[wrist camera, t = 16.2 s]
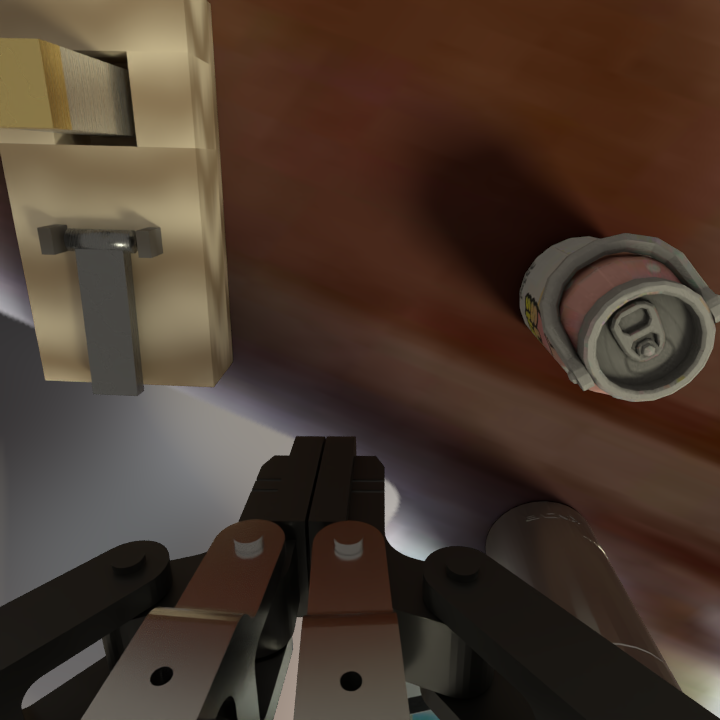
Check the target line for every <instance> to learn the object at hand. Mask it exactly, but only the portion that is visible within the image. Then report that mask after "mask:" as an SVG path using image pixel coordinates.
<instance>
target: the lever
mask: <svg viewBox="0 0 720 720" xmlns="http://www.w3.org/2000/svg"><path fill="white" fill-rule="evenodd" d="M64 244H65V246H66V248H67V249H68V250H69V251H75V254H76V262H77V270H78V278H79V286H80V294H81V301H82V309H83V317H84V325H85V333H86V341H87V349H88V357H89V365H90V372H91V380H92V388H93V394H104V395H128V396H138V395H139V394H141V393H142V392H143V391H144V386H143V374H142V364H141V354H140V343H139V333H138V323H137V312H136V302H135V292H134V281H133V271H132V261H131V253H136V252H137V251H138V248H137V240H136V232H135V231H134V230H108V229H76V228H68V229H66V231H65V233H64Z"/></svg>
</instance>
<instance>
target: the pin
mask: <svg viewBox="0 0 720 720" xmlns="http://www.w3.org/2000/svg"><path fill="white" fill-rule="evenodd" d="M0 128H5V129H17V130H28V131H40V132H52V133H64V134H75V135H87V136H99V137H133V138H136V131H135V122H134V113H133V104H132V96H131V87H130V78H129V70H126V69H123V68H120V67H117V66H115V65H112V64H109V63H106V62H103V61H100V60H98V59H95V58H92V57H89V56H86V55H83V54H81V53H78V52H75V51H72V50H69V49H66V48H64V47H61V46H58V45H55V44H52V43H49V42H47V41H44V40H41V39H30V38H0Z"/></svg>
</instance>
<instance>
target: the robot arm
mask: <svg viewBox="0 0 720 720" xmlns="http://www.w3.org/2000/svg"><path fill="white" fill-rule="evenodd" d="M384 500H385V499H384V466H383V465H382V463H381V462H380V461H379V459H378V458H377V457H376V456H356V437H335V436H327V438H325V437H319V436H296V438H295V441H294V444H293V447H292V450H291V453H290V455H289V456H273V457H272V458H271V459H270V460H269V461H267V462H266V463H265V464H264V465H263V466H262V467H261V469H260V472H259V474H258V477H257V481H255V484H254V486H253V488H252V492H251V493H250V496H249V498H248V500H247V503H246V505H245V508H244V510H243V512H242V515H241V517H240V519H239V522H238V523H235V524H233V525H230V526H228V527H227V528H225V529H224V530H222V531H221V532H220V533H219V534H218V535H217V536H216V538H215V539H214V541H213V543H212V545H211V546H210V548H209V550H208V551H207V552H205V553H202V554H199V555H195V556H190V557H185V558H181V559H176V560H171V561H170V559H169V552H168V550H167V548H165V546H163V545H162V544H160V543H157V542H154V541H145V540H144V541H134V542H129V543H126V544H122V545H119V546H117V547H115V548H113V549H111V550H109V551H107V552H105V553H103V554H101V555H99V556H97V557H95V558H93V559H91V560H90V561H88V562H86V563H84V564H82V565H80V566H78V567H76V568H74V569H72V570H71V571H68V572H66V573H65V574H63V575H61V576H59V577H57V578H55V579H53V580H51V581H49V582H47V583H45V584H43V585H41V586H40V587H38V588H36V589H34V590H32V591H30V592H28V593H26V594H24V595H23V596H20V597H18V598H17V599H14V600H13V601H11V602H9V603H7V604H5V605H3V606H1V607H0V720H273V719H274V715H275V712H276V708H277V705H278V701H279V697H280V694H281V690H282V686H283V683H284V680H285V676H286V673H287V669H288V665H289V662H290V658H291V655H292V650H293V642H292V635H293V632H294V628H295V623H296V618H297V617H303V621H302V630H301V641H300V653H299V664H298V675H297V687H296V699H295V709H294V720H410V712H409V705H408V697H407V689H406V682H408V683H411V684H414V685H417V686H419V687H420V692H421V695H422V698H423V700H424V701H425V703H426V704H427V706H428V707H429V708H430V709H431V711H432V712H433V713H434V714H435V715H436V716H437V717H438V718H439V719H440V720H720V718H718V717H717V716H715V715H714V714H712V713H711V712H710V711H708V710H707V709H705V708H704V707H703V706H701V705H700V704H698V703H697V702H695V701H694V700H693V699H691V698H690V697H688V696H687V695H685V694H684V693H683V692H682V690H681V688H680V687H679V685H678V683H677V681H676V680H675V678H674V676H673V674H672V672H671V671H670V669H669V667H668V666H667V664H666V662H665V660H664V659H663V657H662V655H661V653H660V651H659V650H658V648H657V646H656V644H655V642H654V641H653V639H652V637H651V635H650V634H649V632H648V630H647V628H646V626H645V625H644V623H643V621H642V619H641V617H640V616H639V614H638V612H637V610H636V609H635V607H634V605H633V603H632V601H631V600H630V598H629V596H628V594H627V592H626V591H625V589H624V587H623V585H622V583H621V582H620V580H619V578H618V576H617V575H616V573H615V571H614V569H613V567H612V566H611V564H610V562H609V560H608V558H607V556H606V555H605V553H604V551H603V549H602V547H601V546H600V544H599V542H598V540H597V539H596V537H595V535H594V533H593V531H592V530H591V528H590V526H589V525H588V523H587V521H586V520H585V518H584V517H582V516H581V515H580V514H579V513H578V512H577V511H575V510H574V509H572V508H570V507H569V506H566V505H563V504H560V503H555V502H548V501H542V502H531V503H527V504H523V505H520V506H518V507H515V508H513V509H511V510H510V511H508V512H506V513H505V514H503V515H502V516H501V517H500V518H499V519H498V520H497V521H496V522H495V523H494V525H493V526H492V528H491V529H490V531H489V534H488V536H487V539H486V546H485V550H486V554H484V553H483V552H480V551H478V550H475V549H472V548H468V547H462V546H451V547H445V548H441V549H439V550H436V551H434V552H433V553H431V554H430V555H429V556H428V557H427V559H426V560H425V561H421V560H417V559H414V558H410V557H408V556H405V555H403V554H401V553H400V552H398V551H396V550H395V549H394V548H393V547H392V546H391V545H390V544H389V543H388V541H387V539H386V536H385V519H384V517H385V515H384V514H385V513H384V512H385V511H384V510H385V506H384ZM101 638H102V640H103V645H104V649H105V653H106V656H105V657H103V658H102V659H101V660H99V661H98V662H96V663H94V664H93V665H91V666H90V667H88V668H87V669H85V670H84V671H82V672H81V673H79V674H78V675H76V676H75V677H73V678H72V679H70V680H69V681H67V682H66V683H64V684H63V685H61V686H60V687H58V688H57V689H55V690H54V691H52V692H51V693H49V694H48V695H46V696H44V697H43V698H41V699H40V700H38V701H37V702H35V703H34V704H32V705H31V706H29V707H27V708H25V709H22V708H21V703H22V700H23V697H24V695H25V693H26V692H27V690H28V689H29V688H30V686H31V685H32V684H33V683H34V682H35V681H36V680H38V679H39V678H40V677H42V676H43V675H45V674H46V673H48V672H49V671H51V670H52V669H54V668H56V667H57V666H59V665H60V664H62V663H64V662H65V661H67V660H68V659H70V658H71V657H73V656H75V655H76V654H78V653H79V652H81V651H82V650H84V649H85V648H87V647H89V646H90V645H92V644H94V643H95V642H97V641H98V640H100V639H101Z"/></svg>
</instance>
